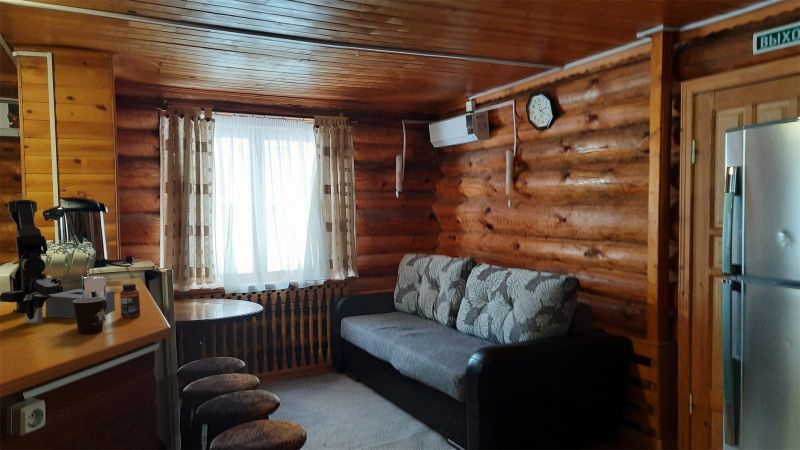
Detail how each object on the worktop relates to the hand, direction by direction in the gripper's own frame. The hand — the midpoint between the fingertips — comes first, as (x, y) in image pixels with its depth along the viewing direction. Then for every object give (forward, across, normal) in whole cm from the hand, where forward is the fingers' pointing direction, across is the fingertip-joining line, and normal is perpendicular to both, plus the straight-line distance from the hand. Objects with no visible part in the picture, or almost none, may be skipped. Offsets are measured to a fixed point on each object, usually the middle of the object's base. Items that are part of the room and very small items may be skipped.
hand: (34, 318), depth 188 cm
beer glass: (+2, +5, -20) cm, 21 cm away
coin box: (+1, +15, -4) cm, 16 cm away
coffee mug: (+2, -4, -28) cm, 29 cm away
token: (+1, 0, 0) cm, 1 cm away
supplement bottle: (+2, +15, -25) cm, 29 cm away
